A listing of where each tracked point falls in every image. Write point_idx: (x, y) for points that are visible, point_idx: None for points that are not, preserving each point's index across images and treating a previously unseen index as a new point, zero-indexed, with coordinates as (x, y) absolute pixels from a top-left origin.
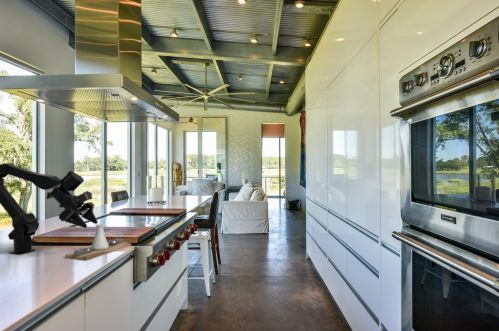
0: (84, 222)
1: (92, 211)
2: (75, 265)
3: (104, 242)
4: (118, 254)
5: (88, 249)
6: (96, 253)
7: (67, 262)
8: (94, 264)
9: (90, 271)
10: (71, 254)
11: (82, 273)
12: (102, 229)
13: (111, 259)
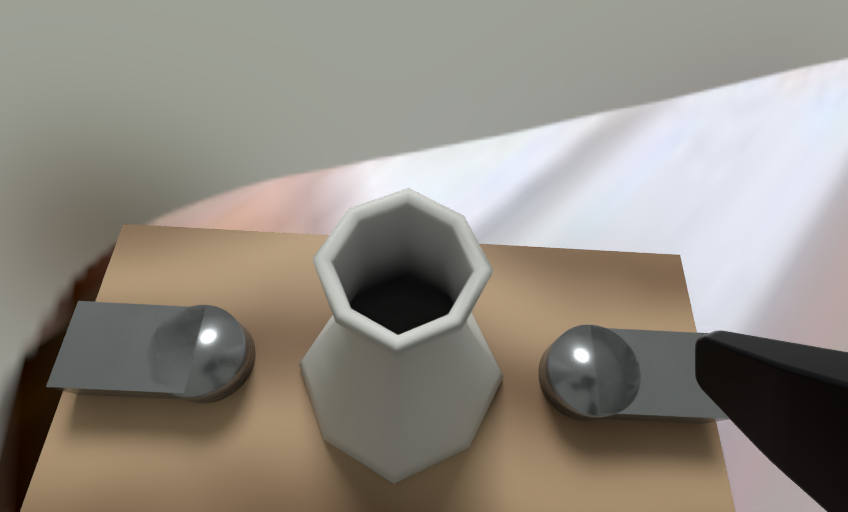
0: (827, 364)
1: None
2: (779, 251)
3: (413, 277)
4: (435, 159)
5: (600, 328)
6: (557, 264)
7: None
8: (689, 152)
9: (780, 88)
10: (699, 480)
11: (826, 103)
12: (402, 244)
13: (556, 127)
